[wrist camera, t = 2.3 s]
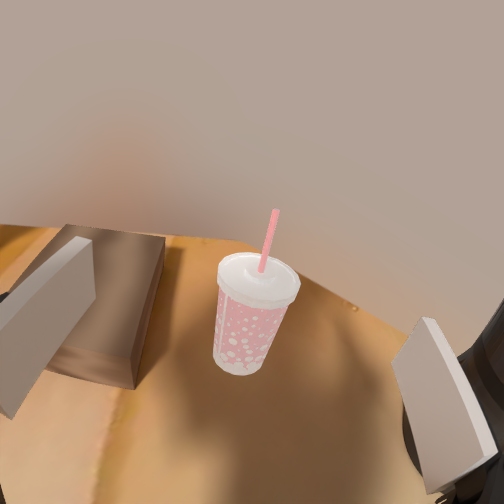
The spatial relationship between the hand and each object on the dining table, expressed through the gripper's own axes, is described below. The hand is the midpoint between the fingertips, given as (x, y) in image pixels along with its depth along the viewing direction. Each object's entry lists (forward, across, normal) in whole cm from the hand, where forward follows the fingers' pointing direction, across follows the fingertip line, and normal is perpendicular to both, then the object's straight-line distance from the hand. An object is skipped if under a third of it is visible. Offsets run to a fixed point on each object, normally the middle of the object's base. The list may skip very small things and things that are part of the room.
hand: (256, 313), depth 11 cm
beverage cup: (+10, +1, -14) cm, 17 cm away
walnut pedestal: (+12, -15, -14) cm, 23 cm away
